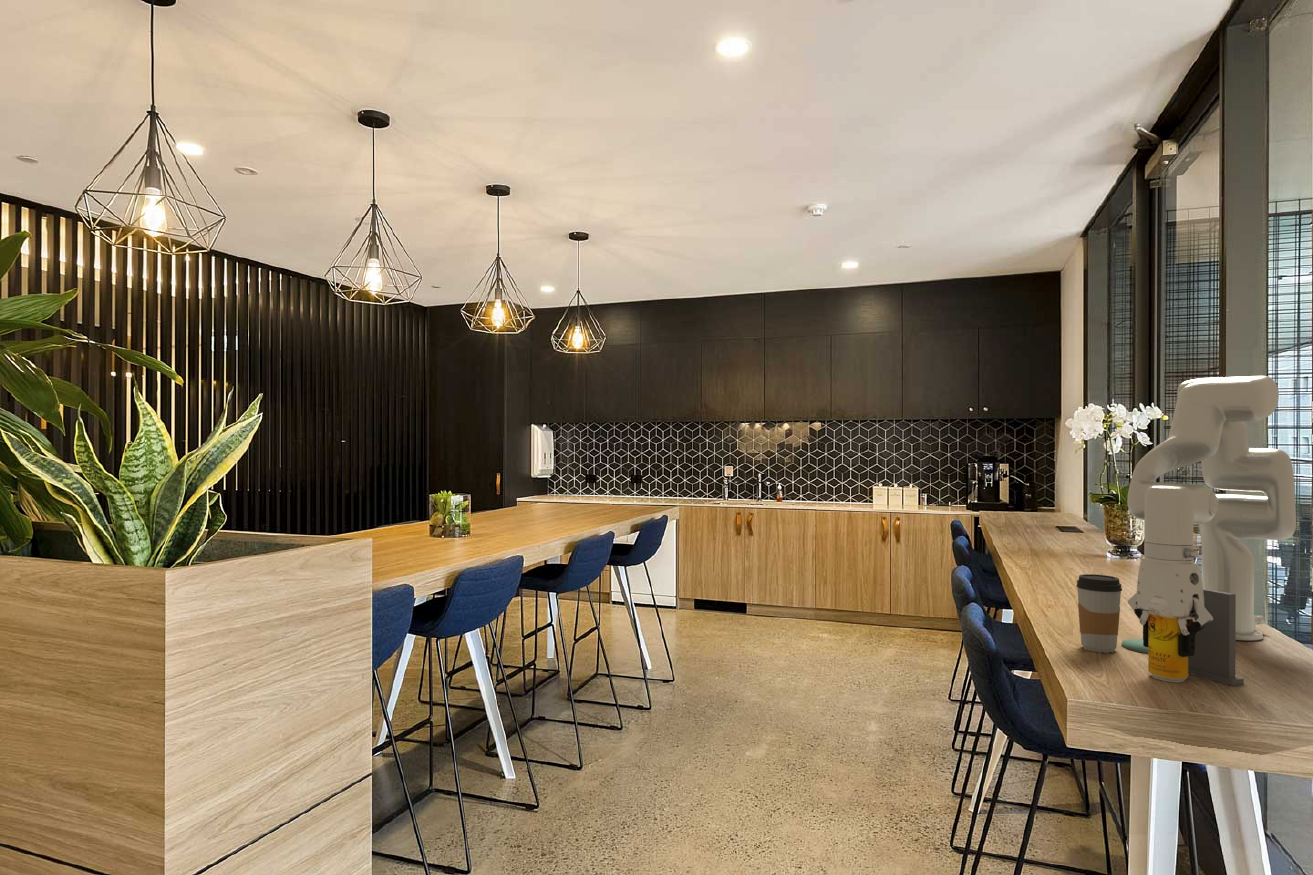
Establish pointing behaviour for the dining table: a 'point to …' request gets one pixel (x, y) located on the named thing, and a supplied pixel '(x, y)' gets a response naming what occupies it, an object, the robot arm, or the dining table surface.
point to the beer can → (1164, 643)
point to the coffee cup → (1099, 611)
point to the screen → (1216, 640)
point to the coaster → (1135, 645)
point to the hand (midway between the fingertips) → (1168, 650)
